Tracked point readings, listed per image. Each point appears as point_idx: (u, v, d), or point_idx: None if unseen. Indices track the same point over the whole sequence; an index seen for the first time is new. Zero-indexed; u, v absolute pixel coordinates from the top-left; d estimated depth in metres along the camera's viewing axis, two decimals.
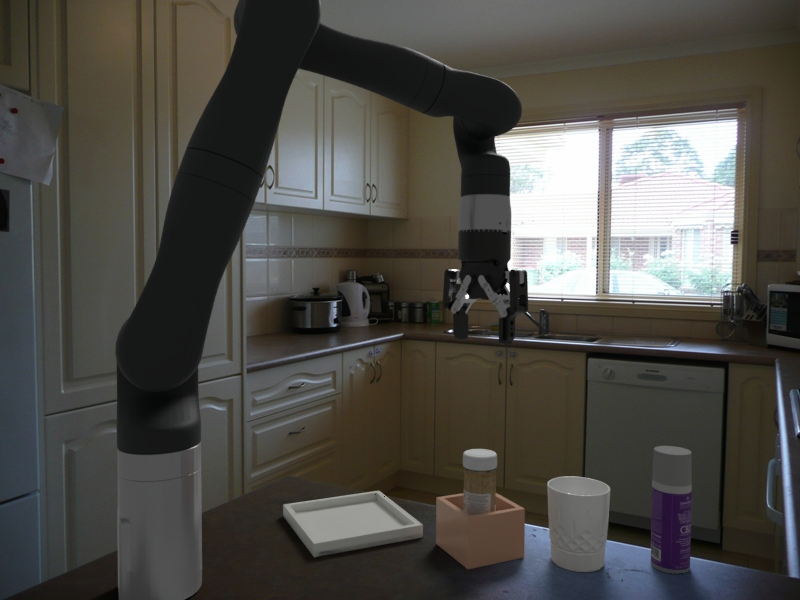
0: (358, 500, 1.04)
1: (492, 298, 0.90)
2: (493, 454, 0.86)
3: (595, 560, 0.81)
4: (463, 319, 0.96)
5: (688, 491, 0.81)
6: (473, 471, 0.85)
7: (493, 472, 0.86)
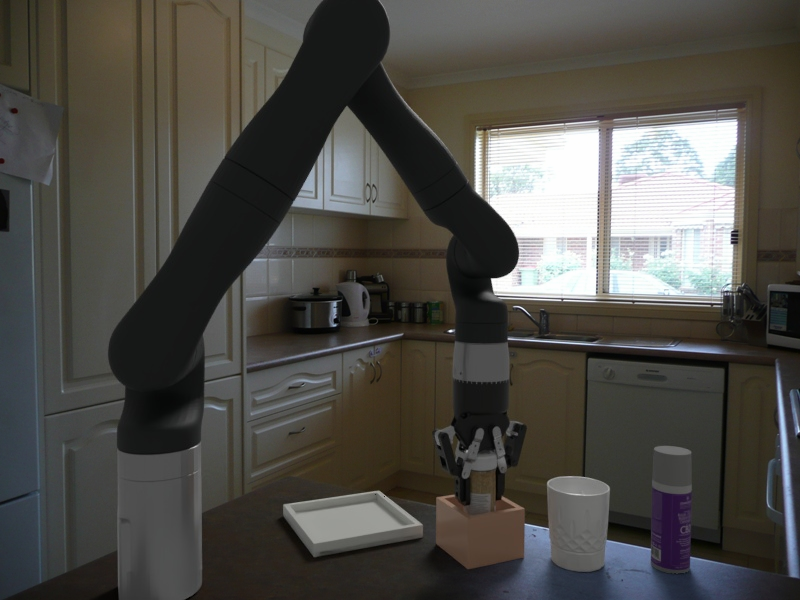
0: (358, 500, 1.04)
1: (500, 453, 0.86)
2: (493, 454, 0.86)
3: (595, 560, 0.81)
4: None
5: (688, 491, 0.81)
6: (473, 471, 0.85)
7: (493, 472, 0.86)
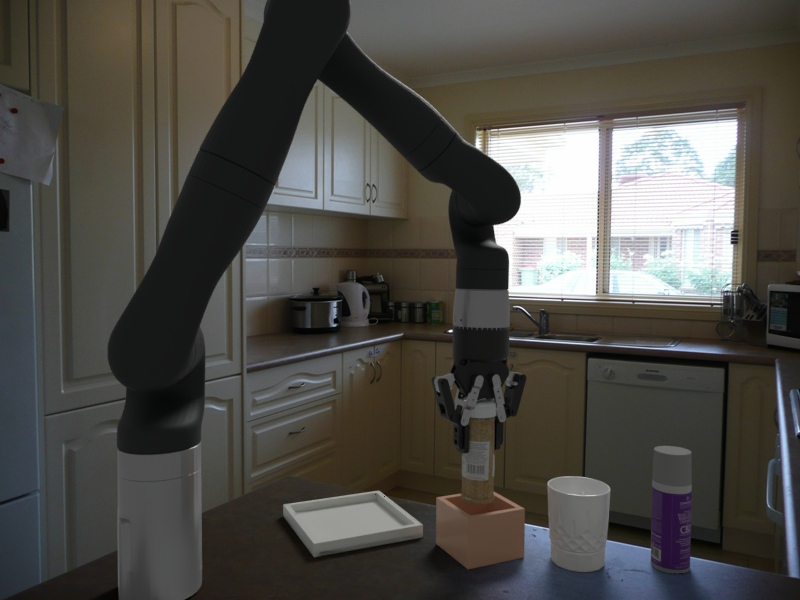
0: (358, 500, 1.04)
1: (499, 401, 0.86)
2: (492, 402, 0.86)
3: (595, 560, 0.81)
4: None
5: (688, 491, 0.81)
6: (472, 418, 0.85)
7: (492, 420, 0.86)
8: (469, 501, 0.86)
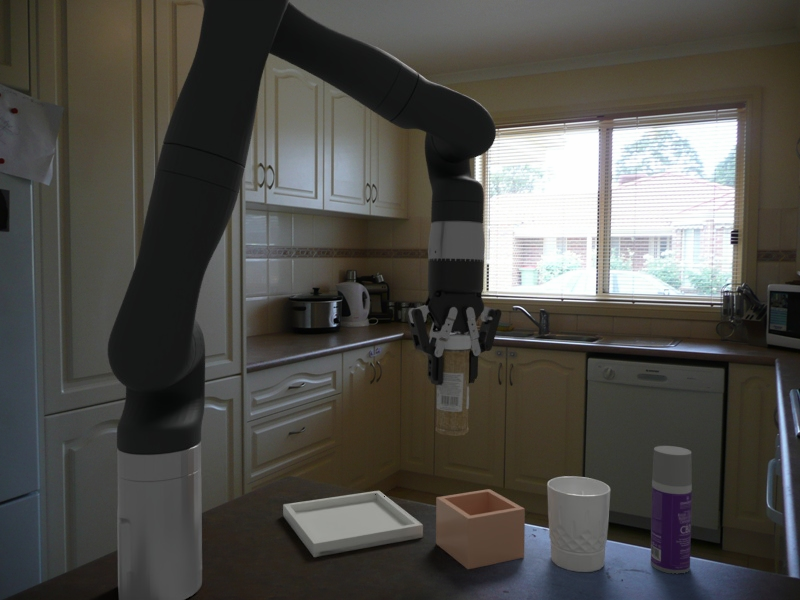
0: (358, 500, 1.04)
1: (473, 334, 0.87)
2: (466, 335, 0.87)
3: (595, 560, 0.81)
4: None
5: (688, 491, 0.81)
6: (447, 350, 0.86)
7: (466, 352, 0.86)
8: (443, 432, 0.86)
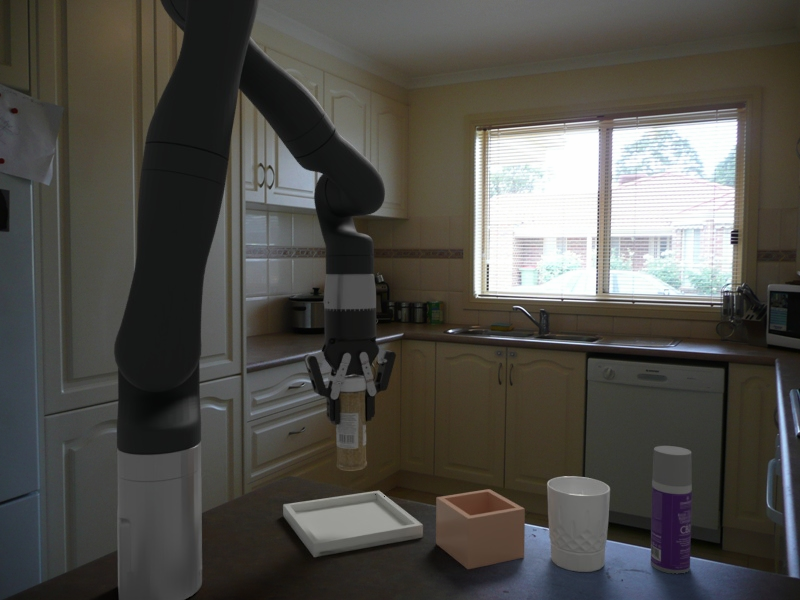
0: (358, 500, 1.04)
1: (368, 377, 0.94)
2: (361, 377, 0.94)
3: (595, 560, 0.81)
4: None
5: (688, 491, 0.81)
6: (342, 392, 0.93)
7: (361, 394, 0.94)
8: (341, 468, 0.93)
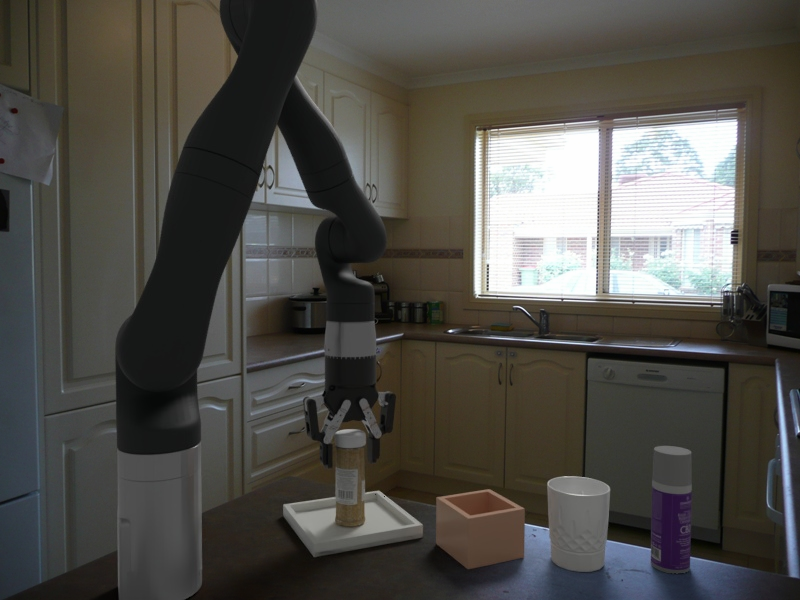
0: None
1: (371, 421, 0.95)
2: (361, 433, 0.95)
3: (595, 560, 0.81)
4: None
5: (688, 491, 0.81)
6: (342, 448, 0.94)
7: (360, 449, 0.94)
8: (340, 523, 0.94)
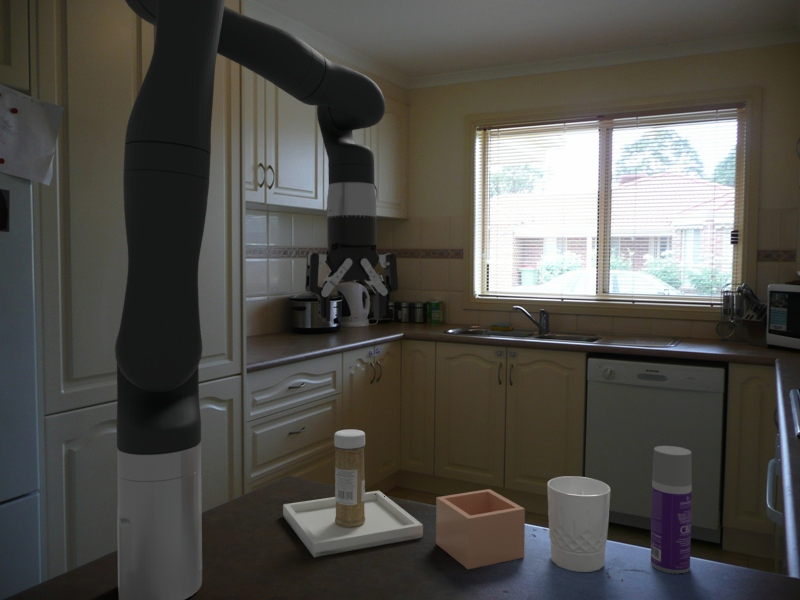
0: None
1: (375, 279, 0.99)
2: (360, 433, 0.94)
3: (595, 560, 0.81)
4: None
5: (688, 491, 0.81)
6: (341, 449, 0.94)
7: (360, 450, 0.94)
8: (340, 524, 0.94)
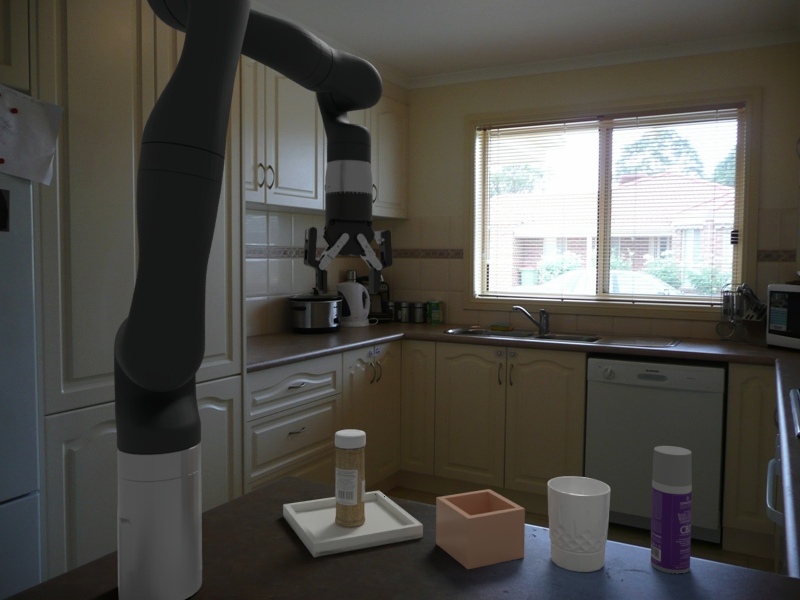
0: None
1: (370, 254, 1.03)
2: (360, 433, 0.94)
3: (595, 560, 0.81)
4: None
5: (688, 491, 0.81)
6: (342, 448, 0.94)
7: (360, 450, 0.94)
8: (340, 524, 0.94)
